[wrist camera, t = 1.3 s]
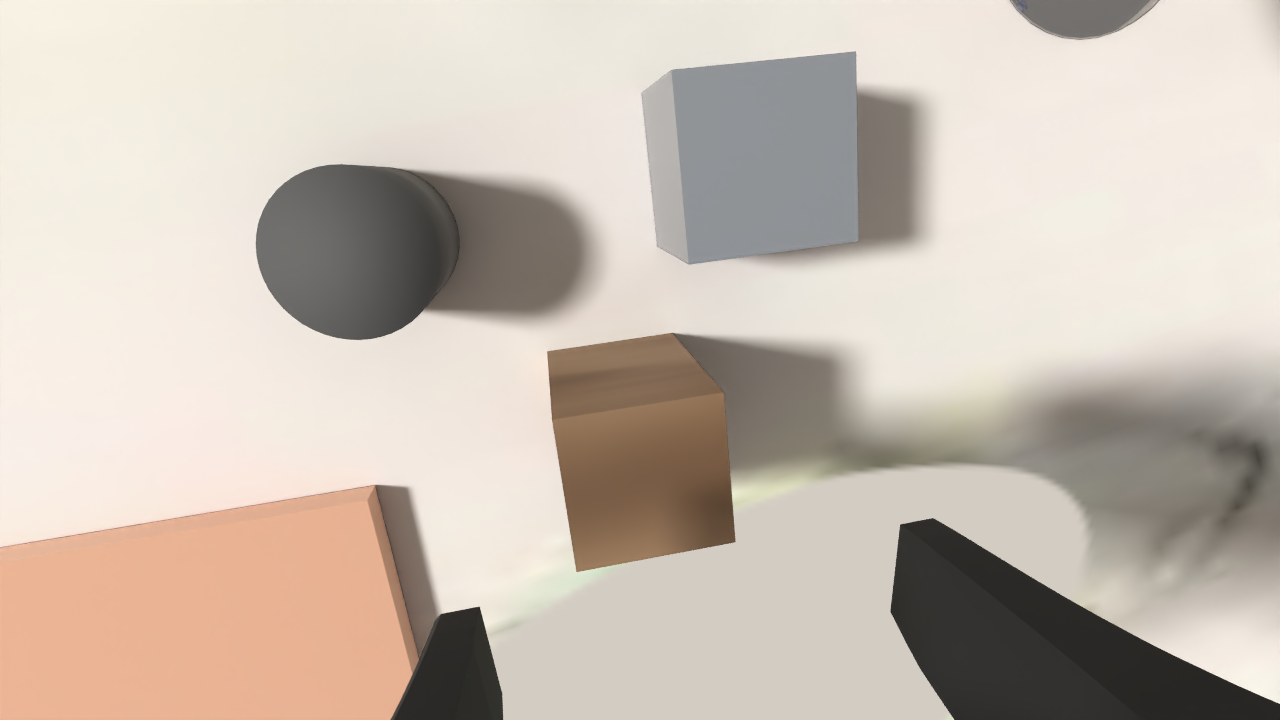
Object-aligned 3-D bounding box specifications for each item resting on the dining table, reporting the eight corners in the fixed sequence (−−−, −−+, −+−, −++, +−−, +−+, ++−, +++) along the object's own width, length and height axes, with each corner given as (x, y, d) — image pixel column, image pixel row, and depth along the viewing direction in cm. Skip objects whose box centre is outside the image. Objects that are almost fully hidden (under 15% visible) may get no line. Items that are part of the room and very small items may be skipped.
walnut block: (683, 446, 22) (735, 542, 16) (565, 466, 22) (576, 572, 16) (672, 333, 21) (723, 392, 15) (547, 351, 20) (552, 419, 15)
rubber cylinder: (471, 297, 20) (455, 326, 16) (332, 316, 19) (283, 351, 15) (444, 159, 18) (421, 154, 15) (297, 175, 18) (233, 175, 14)
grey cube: (792, 228, 21) (858, 241, 16) (656, 245, 20) (688, 264, 16) (786, 78, 19) (856, 51, 15) (641, 93, 19) (671, 70, 15)
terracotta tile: (453, 796, 24) (450, 821, 23) (108, 874, 23) (90, 903, 22) (374, 485, 21) (367, 500, 20) (-44, 555, 19) (-74, 574, 18)
